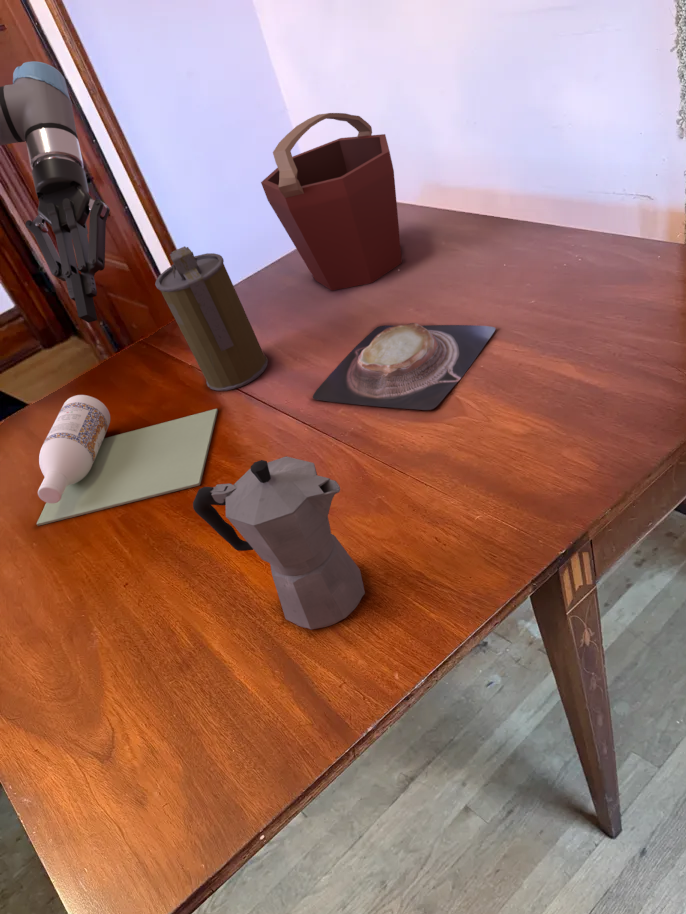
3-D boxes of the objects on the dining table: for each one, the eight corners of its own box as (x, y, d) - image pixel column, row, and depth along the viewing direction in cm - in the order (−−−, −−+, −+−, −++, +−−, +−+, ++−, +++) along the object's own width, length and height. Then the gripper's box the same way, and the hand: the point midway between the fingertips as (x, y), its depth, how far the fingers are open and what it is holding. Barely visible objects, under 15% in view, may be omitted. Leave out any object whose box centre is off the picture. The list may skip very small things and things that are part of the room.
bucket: (344, 310, 125) (290, 155, 109) (272, 289, 140) (215, 149, 123) (444, 243, 134) (409, 90, 118) (367, 229, 149) (326, 91, 132)
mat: (37, 526, 102) (36, 524, 102) (73, 448, 115) (72, 446, 115) (200, 485, 99) (198, 483, 99) (218, 410, 112) (216, 408, 112)
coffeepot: (393, 561, 79) (339, 424, 67) (373, 631, 73) (310, 494, 61) (264, 565, 84) (192, 439, 72) (235, 632, 78) (151, 505, 66)
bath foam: (106, 437, 117) (71, 521, 103) (60, 422, 115) (18, 506, 100) (115, 402, 113) (80, 485, 99) (67, 386, 111) (24, 468, 96)
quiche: (498, 329, 108) (493, 304, 105) (434, 413, 97) (427, 387, 94) (379, 325, 118) (371, 302, 116) (309, 400, 107) (299, 377, 105)
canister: (201, 373, 123) (141, 257, 109) (259, 346, 124) (206, 229, 111) (214, 401, 115) (152, 279, 101) (276, 372, 116) (222, 249, 103)
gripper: (110, 170, 117) (139, 315, 116) (35, 193, 119) (63, 336, 117) (82, 144, 109) (114, 299, 108) (3, 169, 111) (33, 322, 110)
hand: (88, 318), depth 113 cm, fingers closed
